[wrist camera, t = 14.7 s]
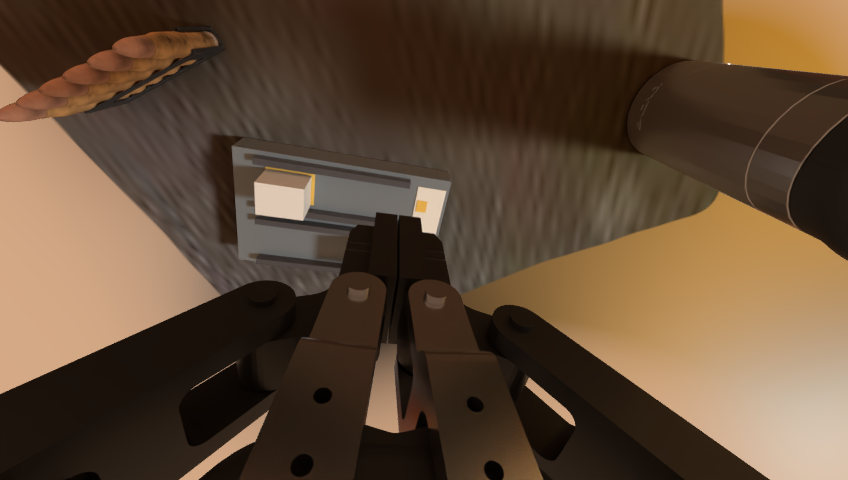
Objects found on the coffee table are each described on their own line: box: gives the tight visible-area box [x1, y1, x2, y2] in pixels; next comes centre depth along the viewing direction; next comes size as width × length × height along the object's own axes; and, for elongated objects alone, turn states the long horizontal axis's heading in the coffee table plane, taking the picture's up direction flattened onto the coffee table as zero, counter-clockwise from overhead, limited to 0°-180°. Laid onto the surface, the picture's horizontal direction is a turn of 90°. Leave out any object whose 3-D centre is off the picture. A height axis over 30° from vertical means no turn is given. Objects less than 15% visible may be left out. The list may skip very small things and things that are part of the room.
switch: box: [254, 169, 312, 221], centre depth 32 cm, size 4×3×3 cm
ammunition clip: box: [0, 26, 225, 122], centre depth 25 cm, size 11×2×12 cm, turn 114°
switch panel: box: [232, 137, 451, 273], centre depth 37 cm, size 20×12×4 cm, turn 79°
